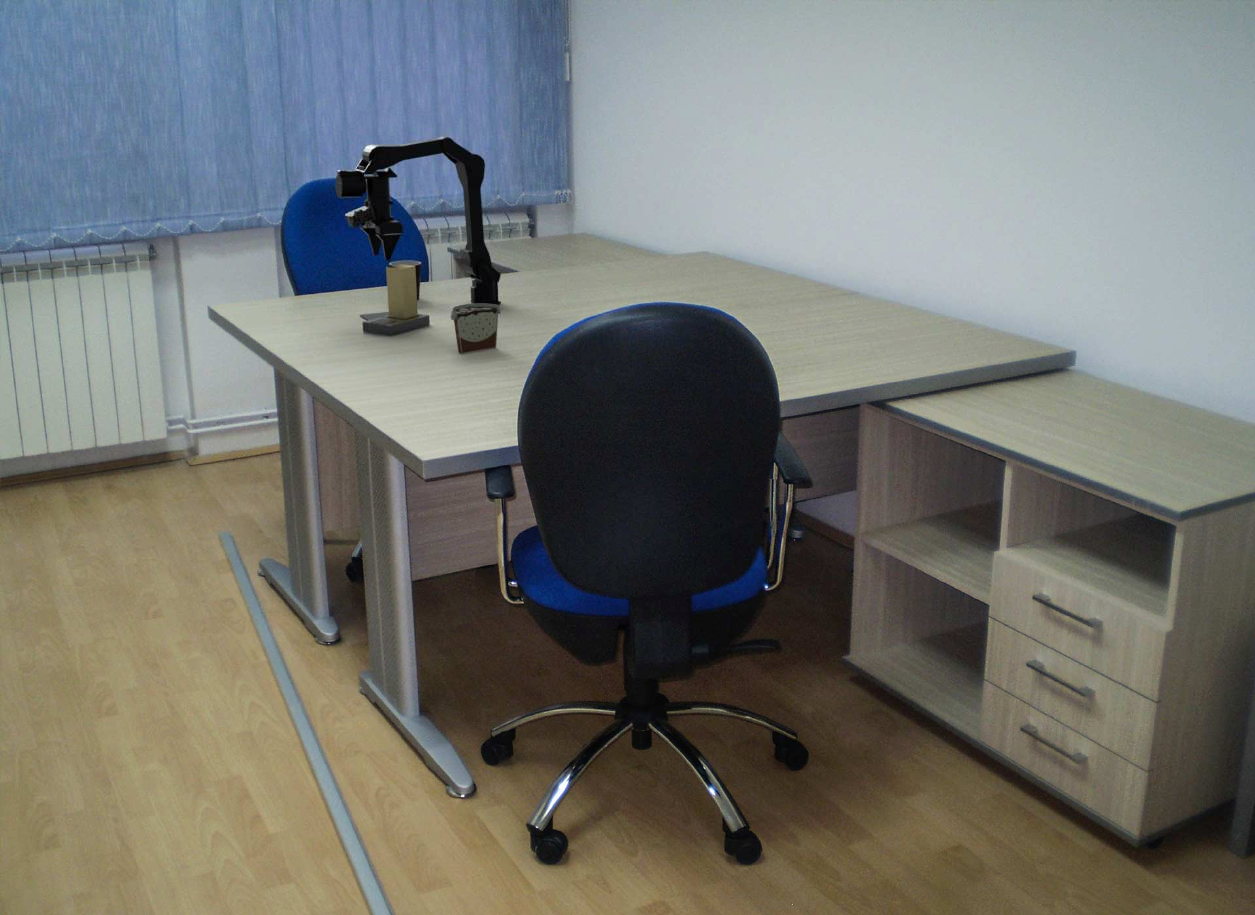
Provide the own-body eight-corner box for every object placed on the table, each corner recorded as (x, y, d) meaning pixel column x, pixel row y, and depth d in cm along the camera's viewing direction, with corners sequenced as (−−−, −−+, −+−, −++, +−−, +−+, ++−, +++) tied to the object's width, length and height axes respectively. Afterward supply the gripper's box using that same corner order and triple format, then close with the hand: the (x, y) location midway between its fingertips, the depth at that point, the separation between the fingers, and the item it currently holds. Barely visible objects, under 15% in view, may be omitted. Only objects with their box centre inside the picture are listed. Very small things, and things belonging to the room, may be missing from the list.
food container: (487, 342, 300) (485, 300, 297) (501, 347, 296) (500, 304, 292) (442, 350, 293) (440, 307, 290) (456, 355, 288) (454, 311, 285)
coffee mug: (416, 303, 344) (414, 266, 340) (386, 302, 345) (384, 265, 342) (431, 295, 354) (429, 259, 351) (402, 294, 356) (400, 258, 353)
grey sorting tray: (402, 321, 322) (401, 311, 321) (429, 325, 318) (429, 314, 317) (363, 331, 311) (362, 321, 310) (391, 336, 306) (390, 325, 305)
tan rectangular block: (402, 323, 320) (399, 264, 315) (418, 325, 317) (415, 266, 312) (389, 327, 316) (386, 267, 311) (405, 329, 313) (401, 269, 308)
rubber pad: (397, 312, 332) (396, 310, 332) (409, 319, 324) (409, 318, 324) (359, 316, 328) (359, 314, 328) (371, 323, 319) (371, 322, 319)
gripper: (336, 193, 325) (340, 254, 330) (359, 201, 310) (362, 265, 315) (378, 191, 330) (381, 251, 335) (402, 199, 315) (405, 262, 320)
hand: (381, 257), depth 326 cm, fingers open, 9 cm apart
